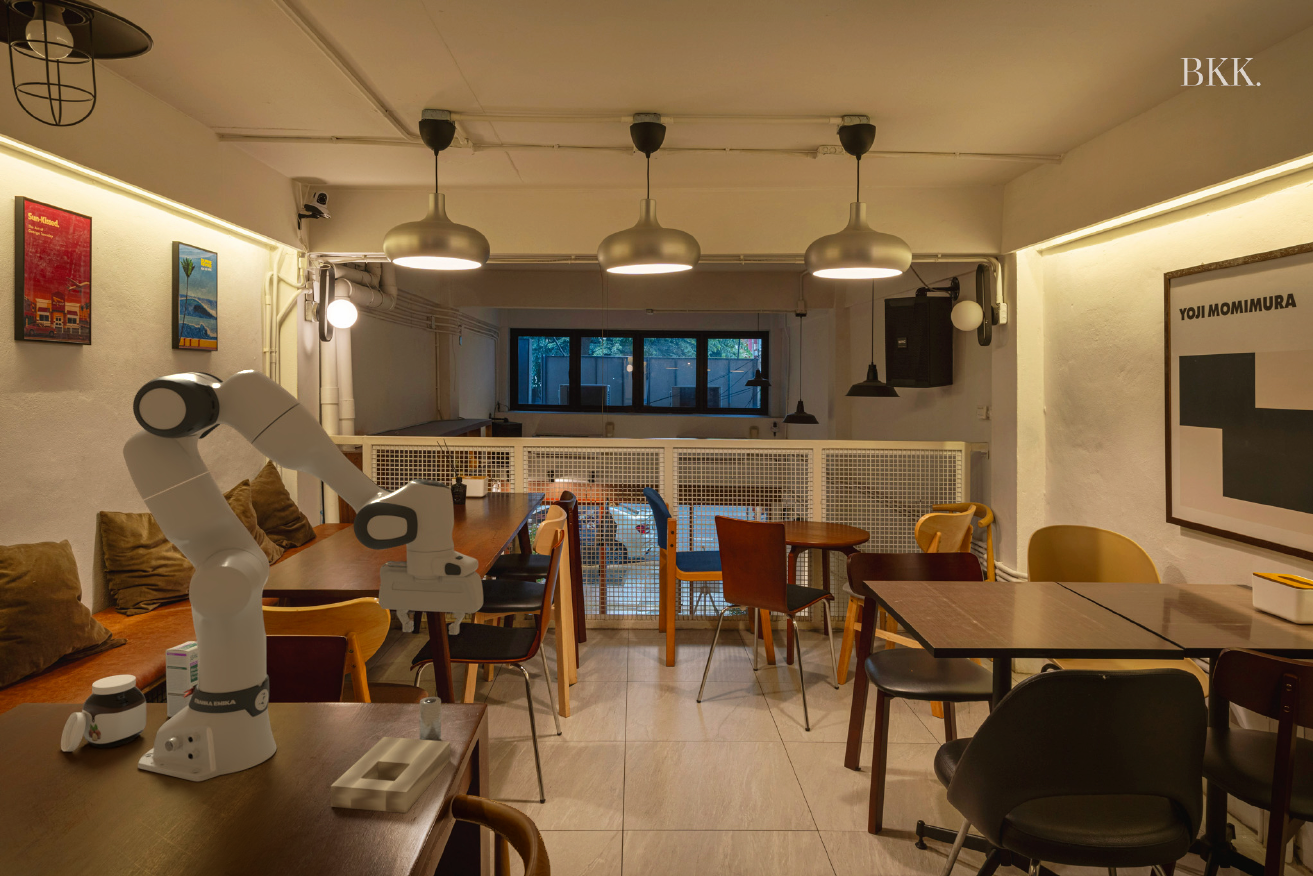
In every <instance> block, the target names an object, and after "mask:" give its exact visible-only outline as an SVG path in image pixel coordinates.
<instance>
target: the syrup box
mask: <svg viewBox="0 0 1313 876" xmlns="http://www.w3.org/2000/svg"><path fill="white" fill-rule="evenodd" d="M165 676H166V678H165V679H166V680H165V681H166V706H167V709H166V711H167V712H166V714H167V717H169V718H172V717H173V716H174V715H176V714H177V713H178V712H180V711H181V710H182V709H184V708H185V707H186V706H187V705H189V702H190V699H191V697H192V694H191V695H189V696H187V697H185V698H184V696H185V695H186V694H187V693H188V692H186V693H183V692H185V691H187V690H189V689H191V688H193V686H194V685H196V684H198V653H197V640H195V641H193V640H192V641H191V640H190V641H189V640H188V641H186V642H184V643H182V644H178V645H176V646H173V647H171V648H167V649H166V650H165Z"/></svg>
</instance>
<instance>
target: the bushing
mask: <svg viewBox="0 0 1313 876" xmlns="http://www.w3.org/2000/svg"><path fill="white" fill-rule="evenodd" d="M441 717H442V699H441V698H440V697H438V696H428V697H423V698H421V699H420V701H419V740H432V741H442V738H441V737H442V728H441V726H442V718H441Z"/></svg>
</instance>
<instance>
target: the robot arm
mask: <svg viewBox="0 0 1313 876" xmlns="http://www.w3.org/2000/svg"><path fill="white" fill-rule="evenodd" d="M132 410H133V411H132V412H133V415H134V418H135V420H136V421H137V423H138V424H139V425H140V426H141V428H142V429H141V430H139V431H137V432H136V433H135V434H133V435H132V436H131V437H130V438H128V440H127V441H125V443H124V445H123V449H122V454H123V458H124V461H125V464H126V466H127V470H128V472H129V475H130V477H131V480H132V482H133V484H134V485H135V486H134V487H135V488H136V490H137V492H138V493H139V495H140V496H141V499H142V500H143V502H144V504H145V505H146V507H147V509H148V510H149V512H150V514H151V515H152V517H153V519H154V521H155V522H156V524H157V525H158V527H159V528H160V530H161V532H162V534H163V536H164V537H165V538H166V539H167V541H168V542H170V543H171V544H173V545H174V546H175V547H176V548H177V550H179V551H180V552H181V553H182V555H184V557H185V558H186V559H187V560H188V561H189V563H190V564H191V565H192V567H194V569H195V570H194V572H193V575H192V576H191V578H190V583H189V589H188V597H189V598H188V599H189V603H190V605H191V615H192V622H193V623H192V624H193V627H194V632H195V639H196V641H197V653H198V684H196V685H194V686H193V688H191V689H189V690H187V691H185V692H183V693H186V692H188V693H187V694H186V695H185V696H184V698H185V697H187V696H189V695H191V694H192V697H191V699H190V702H189V705H187V706H186V707H185V708H184V709H182V710H181V711H180V712H178V713H177V714H176V715H174V716H173V717H170V719H168V720H166V721H165V722H164V723H163V724H162V725H161V726H160V727H159V729H158V730H157V732H156V734H155V737H154V742H153V748H151V749H150V750H148V751H147V752H146V753H144V754H143V755H142V756H141V757H140V758H139V761H138V763H137V769H141V770H145V771H147V772H148V771H149V772H153V773H157V774H162V775H166V776H171V777H176V778H179V779H184V780H188V781H192V782H202V781H206V780H208V779H212V778H215V777H218V776H220V775H226V774H233V773H237V772H240V771H244V770H247V769H249V768H253V767H255V766H257V765H261V763H264V762H265V761H267V760H268V759H270V758H271V757H272V756H273V755H274V754H275V752H276V751H277V745H276V742H275V737H274V735H273V730H272V727H271V722H270V715H269V701H270V677H269V675H268V674H267V633H266V628H265V622H264V613H263V592H264V587H265V585H266V583H267V582H268V579H269V576H270V573H271V568H270V561H269V559H268V556H267V555H266V553H265V552H264V551H263V549H262V548H261V546H260V545H259V543H258V542H257V541H256V540H255V538H254V536H253V535H252V534H251V532H250V531H249V530H248V528H247V527H246V526H245V525H244V523H243V522H242V520H241V519H239V517H238V516H237V515H236V513H235V512H234V510H233V509H232V508H231V505H230V504H229V502H228V501H227V499H226V498H225V496H224V494H223V493H222V491H221V489H220V487H219V486H218V484H217V482H216V480H215V479H214V477H213V476H212V474H211V472H210V470H209V468H208V467H207V465H206V464H205V462H204V460H203V459H202V456H201V454H200V452H199V449H198V442H199V440H202V439H204V438H206V437H207V436H208V435H209V434H211V432H213V431H214V430H215V429H216V428H218V427H219V426H220V425H225V426H228V427H230V428H232V429H234V430H235V431H237V432H238V433H239V434H240V435H241V436H242V437H243V438H245V440H246V441H248V442H249V443H250V444H251V445H252V446H253V447H254V449H256V450H257V451H258V452H259V453H260V454H262V455H263V456H265V457H266V458H268V459H269V460H271V462H274V463H275V464H277V465H278V466H279V467H282V468H283V469H287V470H291V471H292V470H293V471H297V472H299V473H305V474H307V475H311V476H313V477H315V478H316V479H319V480H320V481H322V482H323V483H324V484H325V485H327V486H328V488H330V489H331V490H332V491H334V493H336V495H338V496H340V498H341V499H342V500H344V501H345V502H346V503H347V504H349V506H350V507H351V508H352V509H353V510H354V512H355V513H356V515H355V517H354V519H353V533H354V535H355V537H356V539H357V541H359V543H361V544H362V545H363V546H364V547H366V548H368V549H371V550H377V551H379V550H381V551H382V550H383V551H384V550H387V549H393V548H397V547H402V546H405V545H406V561H403V560H399V561H395V560H387V562H385V563H384V564H382V565H381V567H380V569H379V579H380V584H379V591H378V592H379V593H378V604H379V606H380V607H381V609H383V610H396V616H397V618H398V620H399V621H400V623H401V624H402V632H403V633H411V632H413V631H414V630H415V629H414V627H415V626H414V625H415V624H414V623H415V622H414V621H413V620H410V618H409V617H408V614H407V613H408V612H409V611H420V612H440V613H441V612H442V613H453V617H454V618H456V619H455V621H454V622H452V623H451V624H449V625H448V630H449V631H448V635H453V636H454V635H458V634H460V624H461V623H462V621H463V619H464V618H465V616H466V614H474V613H477V612H478V611H479V610H480V609H481V608H482V607H483V605H484V589H483V583H482V578H481V576H480V573H478V572H477V569H478V568H479V561H478V559H477V558H474V557H473V556H470V555H465V554H463V553H461V552H459V551H456V550H455V544H454V540H453V530H454V525H455V517H454V516H455V514H454V500H453V495H452V494H453V493H452V491H451V489H450V488H449V487H448V485H446V484H445V483H443V482H442V481H438V480H433V479H427V478H415V479H411V480H410V481H409V482H408V483H407V484H405V485H403V486H401V487H400V488H398V489H396V490H395V491H394V490H390V489H387V488H385V487H383V486H381V485H379V484H377V483H375V482H374V481H373V480H372V479H371V478H370V477H368V475H366V474H365V473H364V472H363V471H362V470H361V469H360V468H359V467H358V466H357V465H355V464H354V463H353V462H352V460H350V459H349V458H348V457H347V456H346V455H345V454H344V453H343V452H342V451H341V450H340V448H339V447H338V446H337V445H336V444H335V442H334V441H333V439H332V438H331V436H329V434H328V433H327V431H326V430H325V429H324V427H323V426H322V425H321V424H320V422H319V421H318V419H316V417H315V416H314V415H313V414H312V412H310V410H308V408H307V407H306V406H305V405H304V404H303V403H301V402H300V401H299V400H298V399H297V398H296V397H295V396H294V395H293V394H292V393H290V392H289V391H288V390H287V389H285V388H284V387H283V386H281V385H280V384H279V383H277V382H276V381H275V380H273V379H272V378H270V377H269V376H267V375H266V374H264V373H263V372H260V371H259V370H256V369H255V370H254V369H246V370H242V371H241V370H240V371H238V372H236V373H234V374H232V375H231V376H229V377H227V379H226V380H225V379H224V381H223V380H222V379H221V378H219V377H218V376H216V375H213V374H211V373H208V372H201V371H196V372H191V371H185V372H184V371H182V372H175V373H173V374H172V373H171V374H169V375H163V376H158V377H156V378H153V379H151V380H150V381H148V382H146V383H145V384H144V385H142V386H141V387H140V389H138V391H137V392H136V394H135V396H134V398H133V403H132Z"/></svg>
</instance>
